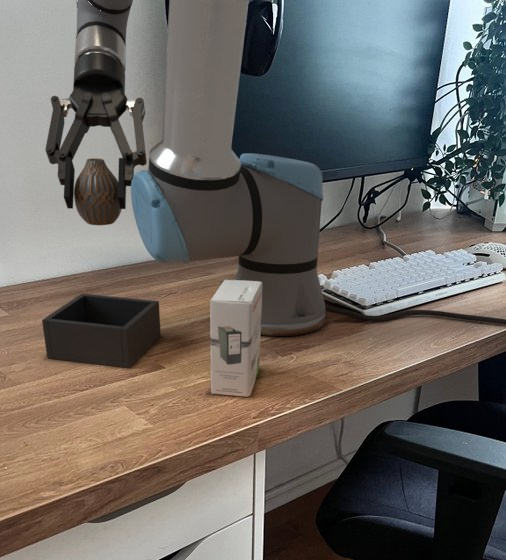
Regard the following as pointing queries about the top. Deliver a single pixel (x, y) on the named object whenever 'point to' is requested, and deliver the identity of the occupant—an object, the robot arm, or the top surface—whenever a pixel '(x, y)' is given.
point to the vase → (97, 194)
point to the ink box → (235, 337)
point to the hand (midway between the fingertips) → (95, 202)
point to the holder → (102, 330)
